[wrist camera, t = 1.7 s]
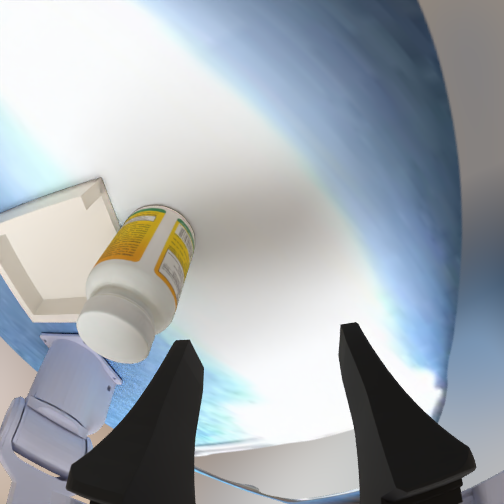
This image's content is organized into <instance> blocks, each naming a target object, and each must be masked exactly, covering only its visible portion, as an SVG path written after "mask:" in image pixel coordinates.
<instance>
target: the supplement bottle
mask: <svg viewBox="0 0 504 504" xmlns="http://www.w3.org/2000/svg"><path fill="white" fill-rule="evenodd" d="M194 249H195V237H194V233H193V230H192V228H191V226H190V225H189V223H188V222H187V220H186V219H185V218H184V217H183V216H182V215H180V214H179V213H178V212H176V211H174V210H172V209H170V208H167V207H164V206H147V207H143V208H140V209H138V210H136V211H135V212H133V213H132V214H131V215H130V216H129V218H128V219H127V220H126V222H125V223H124V224H123V226H122V227H121V228H120V230H119V231H118V233H117V234H116V235H115V237H114V238H113V240H112V241H111V243H110V244H109V245H108V247H107V248H106V250H105V251H104V252H103V254H102V255H101V257H100V258H99V260H98V261H97V263H96V264H95V266H94V267H93V269H92V270H91V272H90V274H89V276H88V278H87V281H86V288H85V289H86V298H87V301H86V303H85V304H84V306H83V309H82V311H81V313H80V315H79V317H78V319H77V330H78V333H79V335H80V337H81V339H82V340H83V341H84V342H85V344H86V345H87V346H88V347H90V348H91V349H92V350H93V351H95V352H96V353H97V354H99V355H101V356H103V357H105V358H107V359H109V360H112V361H115V362H119V363H126V364H133V363H138V362H141V361H143V360H144V359H145V358H146V357H147V356H148V354H149V352H150V349H151V346H152V343H153V341H154V338H155V335H156V334H159V333H161V332H162V331H163V330H165V329H166V328H167V327H168V326H169V325H170V323H171V321H172V320H173V317H174V315H175V311H176V308H177V305H178V301H179V298H180V295H181V291H182V288H183V285H184V281H185V278H186V275H187V272H188V269H189V265H190V262H191V259H192V256H193V253H194Z"/></svg>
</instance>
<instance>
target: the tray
mask: <svg viewBox="0 0 504 504" xmlns="http://www.w3.org/2000/svg"><path fill="white" fill-rule="evenodd" d="M120 228H121V227H120V225H119V222H118V220H117V217H116V215H115V212H114V210H113V207H112V205H111V202H110V199H109V197H108V194H107V191H106V189H105V186H104V183H103V180H102V178H98V179H95V180H91V181H88V182H85V183H82V184H79V185H75V186H72V187H69V188H66V189H63V190H60V191H57V192H55V193H52V194H49V195H46V196H43V197H41V198H38V199H35V200H32V201H30V202H27V203H25V204H22V205H19V206H17V207H14V208H12V209H9V210H7V211H5V212H2V213H0V274H1V275H2V277H3V278H4V280H5V282H6V283H7V285H8V286H9V288H10V290H11V291H12V293H13V294H14V296H15V297H16V299H17V300H18V302H19V303H20V305H21V306H22V308H23V309H24V310H25V312H26V313H27V315H28V316H29V317H30V319H31V320H32V321H33V322H77V319H78V317H79V315H80V313H81V311H82V309H83V306H84V304H85V303H86V301H87V298H86V289H85V288H86V281H87V278H88V276H89V274H90V272H91V270H92V269H93V267H94V266H95V264H96V263H97V261H98V260H99V258H100V257H101V255H102V254H103V252H104V251H105V250H106V248H107V247H108V245H109V244H110V243H111V241H112V240H113V238H114V237H115V235H116V234H117V233H118V231H119V230H120Z"/></svg>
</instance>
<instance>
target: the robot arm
mask: <svg viewBox="0 0 504 504" xmlns="http://www.w3.org/2000/svg"><path fill="white" fill-rule="evenodd" d="M40 338H41V339H42V340H43V341H44V343H45V344H46V345H47V346H48V348H49V350H48V352H47V354H46V356H45V358H44V360H43V362H42V365H41V367H40V369H39V371H38V373H37V375H36V377H35V380H34V382H33V384H32V386H31V389H30V391H29V393H28V396H27V397H26V398H25V399H24V398H22V397H19V398H14V400H13V401H12V402H11V404H10V406H9V408H8V410H7V413H6V415H5V417H4V420H3V422H2V425H1V428H0V462H1V464H2V466H3V467H4V469H5V470H6V472H7V473H8V475H9V476H10V478H11V480H12V483H11V487H10V491H9V495H8V499H7V503H6V504H86V503H83V502H81V501H78V500H76V499H73V498H71V496H74V495H79V496H81V497H84V498H86V499H89V500H90V504H196V503H195V488H194V451H195V437H196V430H197V424H198V417H199V411H200V405H201V399H202V393H203V379H204V367H203V365H202V363H201V361H200V359H199V357H198V355H197V354H196V352H195V350H194V348H193V346H192V344H191V342H190V340H176V341H175V342H174V343H173V345H172V347H171V349H170V350H169V352H168V354H167V356H166V357H165V359H164V361H163V362H162V364H161V366H160V367H159V369H158V371H157V372H156V374H155V375H154V377H153V379H152V380H151V382H150V383H149V385H148V386H147V388H146V389H145V391H144V392H143V394H142V395H141V397H140V398H139V399H138V401H137V402H136V404H135V405H134V406H133V407H132V409H131V410H130V411H129V413H128V414H127V415H126V416H125V417H124V419H123V420H122V421H121V422H120V423H119V424H118V425H117V426H116V427H115V428H114V430H113V431H112V432H111V433H110V434H109V435H108V436H107V437H106V438H104V439H103V440H102V441H101V442H100V443H99V444H98V445H97V446H95V447H94V448H93V446H92V442H91V440H90V438H89V437H87V435H91V434H94V433H96V432H97V431H98V430H99V429H100V428H101V427H102V425H103V424H104V422H105V420H106V416H107V413H108V409H109V406H110V403H111V399H112V396H113V393H114V390H115V387H116V384H118V385H121V384H122V380H121V379H120V378H119V377H118V375H117V374H116V373H115V372H114V371H113V369H112V368H111V367H110V366H109V365H108V363H107V362H106V361H105V360H104V358H103V357H102V356H101V355H99V354H97V353H96V352H95V351H93V350H92V349H91V348H90V347H88V346H87V345H86V344H85V342H84V341H83V340H82V339H81V337H80V335H79V334H47V333H41V335H40ZM339 362H340V369H341V375H342V380H343V384H344V388H345V392H346V396H347V400H348V404H349V408H350V412H351V416H352V420H353V425H354V430H355V437H356V446H357V456H358V468H359V484H360V504H504V470H503V471H502V472H500V473H498V474H496V475H495V476H493V477H491V478H489V479H487V480H485V481H483V482H481V483H479V484H477V485H475V486H473V487H471V488H469V489H467V490H465V491H462V492H461V489H460V487H461V486H462V485H463V482H462V478H463V477H464V476H466V475H467V474H469V473H471V472H473V471H474V470H475V469H476V464H475V460H474V457H473V455H472V452H471V450H470V448H469V447H468V446H467V445H465V444H463V443H462V442H460V441H459V440H458V439H456V438H455V437H454V436H452V435H451V434H450V433H448V432H447V431H446V430H445V429H443V428H442V427H441V426H440V425H439V424H438V423H436V422H435V421H434V420H433V419H432V418H431V417H430V416H429V415H428V414H426V413H425V412H424V411H423V410H422V409H421V408H420V407H419V406H418V405H417V404H416V403H415V402H414V401H413V400H412V398H411V397H410V396H409V395H408V394H407V393H406V392H405V391H404V390H403V388H402V387H401V386H400V385H399V384H398V382H397V381H396V380H395V379H394V377H393V376H392V375H391V373H390V372H389V371H388V369H387V368H386V367H385V365H384V364H383V363H382V361H381V360H380V358H379V357H378V355H377V354H376V353H375V351H374V349H373V348H372V346H371V345H370V343H369V342H368V340H367V338H366V337H365V335H364V333H363V332H362V330H361V328H360V326H359V324H358V323H356V322H354V323H348V324H342V325H341V327H340V342H339ZM13 451H15V452H16V453H18V454H20V455H21V456H23V457H25V458H27V459H28V460H30V461H32V462H34V463H36V464H38V465H39V466H41V467H43V468H45V469H47V470H49V471H51V472H53V473H55V474H58V475H60V477H52V476H50V475H48V474H46V473H44V472H42V471H40V470H38V469H36V468H35V467H33V466H31V465H29V464H27V463H25V462H24V461H22V460H21V459H19V458H18V457H17V456H16V455H15V453H14V452H13Z"/></svg>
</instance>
